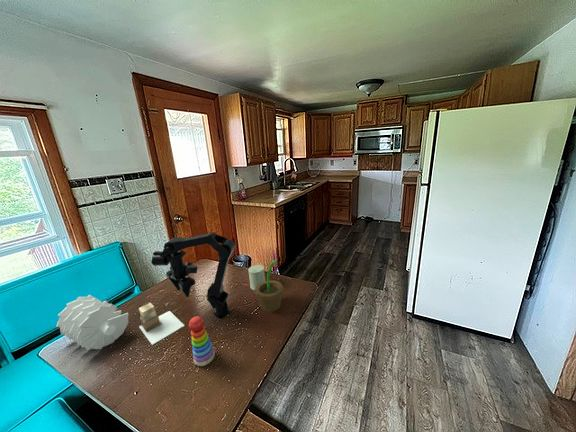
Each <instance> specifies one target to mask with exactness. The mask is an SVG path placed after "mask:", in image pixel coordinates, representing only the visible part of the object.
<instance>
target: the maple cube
mask: <svg viewBox="0 0 576 432" xmlns="http://www.w3.org/2000/svg"><path fill="white" fill-rule="evenodd" d="M138 311H139V313H140V314H139V315H140V317H141V318H142V319H143V320H144V322H146V321H148V320H150V319H152V318H154V317H155V316H156V314H157V312H156V309H155V306H154V305H153V304H152V302H148V303H147V304H145V305H142V306H141V307H138Z"/></svg>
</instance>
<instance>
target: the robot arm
mask: <svg viewBox="0 0 576 432" xmlns="http://www.w3.org/2000/svg"><path fill="white" fill-rule="evenodd" d="M202 245H203V246H204V245H209V246H210V247H212V249H214V251H216V252H217V253H218V255H217V256H218V264H217V267H216V273H215V277H214V280H213V282H212V283H211V284H210V286H209V287H208V289H207V294H206V295H205V297H206V300H207V301H208V303H209V304H210V306H211V307H212V309H215V312H213V315H214V317H216V318H217V319H219V320H222V319H223V318H225V317H227V316H229V315H230V314H231V313H232V310H230V309H229V307H228V301H227V299H228V298H229V293H228V292H226V291H225V290H224V280H225V277H226V273H227V272H226V271H227V269H228V264H229V261H230V258H231V256H232V255H233V252H234V250H235V248H236V243H235V242H234V240H232V239H229V238H227V237H225V236H222V235H219V234H217V233H215V232H209V233H206V234H205V233H204V234H200V235H199V234H198V235H195V236H194V235H193V236H191V237H182V236H181V237H172V238H171V239H170V240H168V241H166V242H165V243H164V245H163V250H162V251H158V250H157V251H154V252H152V257H151V265H152V266H154V267H156V266H157V267H161V266H163V267H164V266H168V265H170V267H169V270H168V271H167V272H166V273H165V276H166V278H167V280H169V282H170V283H171V284H172V286H174V287H175V288H176V290H177V291H181V292H182V293H183V295H184V296H185V297H186V298H189V297H190V293H191V287H193V286H194V285H196V280H195V278H194V277H192V276H189V275H190V274H197V273H198V268H199V266H197V265H195V264H192V262H190V261H186V262H184V258H183V257H184V256H185V255H187V252H186V251H184V249H188V248H193V247H197V246H202Z"/></svg>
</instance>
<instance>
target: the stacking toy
mask: <svg viewBox="0 0 576 432" xmlns="http://www.w3.org/2000/svg"><path fill="white" fill-rule="evenodd" d="M188 328H189V329H190V334H191V345H192V347H191V348H192V357H193V358H192V360H193V363H194V365H195V366H198V367H204V366H206V365H208V364H210V363H211V362H212V361H213V360H214V358H215V355H216V351H215V349H214V346H213V344H212V342H211V339H210V337H209V335H208V333H207V330H206V326H204V319H203V318H202V317H201V316H200V315H199V316H198V315H197V316H194V317H192V318H191V319H190V320H189V322H188Z"/></svg>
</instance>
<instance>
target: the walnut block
mask: <svg viewBox="0 0 576 432" xmlns="http://www.w3.org/2000/svg"><path fill="white" fill-rule="evenodd" d="M139 320H140V324H141V325H142V327H143V328H144V330H145V331H146V332H148V331H150V330H151V329H153V328H155V327H157V326H159V325H160V321H159V315H158V314H157V313H156V316H155V317H154V318H152V319H150V320H148V321H146V322H144V320H143V319H142V318H141V316H140V317H139Z"/></svg>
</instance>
